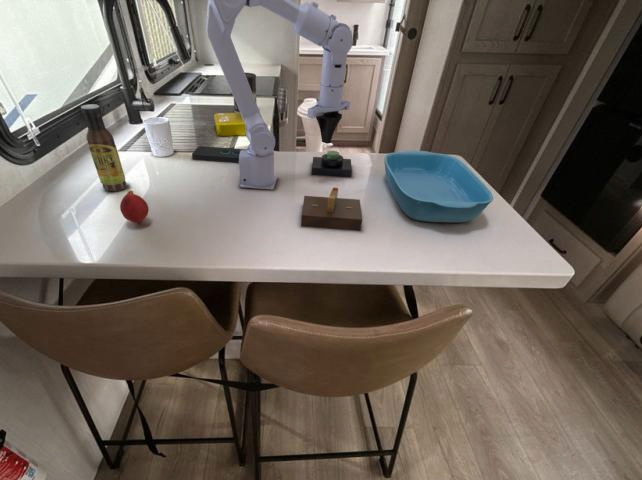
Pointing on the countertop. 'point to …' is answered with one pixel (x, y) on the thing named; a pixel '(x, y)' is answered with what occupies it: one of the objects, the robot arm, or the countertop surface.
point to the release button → (332, 155)
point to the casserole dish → (435, 187)
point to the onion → (134, 207)
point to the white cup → (159, 136)
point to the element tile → (229, 124)
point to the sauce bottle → (103, 150)
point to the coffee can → (252, 84)
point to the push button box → (331, 166)
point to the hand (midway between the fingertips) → (326, 142)
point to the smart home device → (217, 154)
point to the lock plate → (331, 213)
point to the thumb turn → (332, 199)
